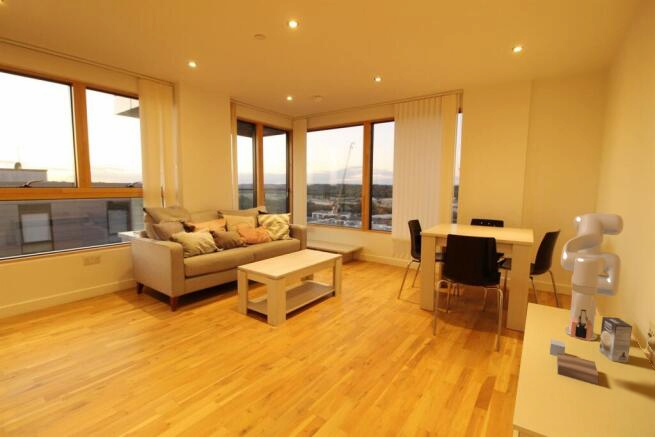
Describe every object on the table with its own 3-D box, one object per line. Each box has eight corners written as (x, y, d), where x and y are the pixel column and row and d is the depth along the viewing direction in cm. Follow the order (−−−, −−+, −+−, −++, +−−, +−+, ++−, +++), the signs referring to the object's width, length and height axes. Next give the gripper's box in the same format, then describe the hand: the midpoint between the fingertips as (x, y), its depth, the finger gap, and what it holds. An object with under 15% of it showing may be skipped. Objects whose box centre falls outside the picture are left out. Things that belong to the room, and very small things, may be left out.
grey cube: (549, 349, 143) (550, 339, 143) (563, 353, 140) (564, 342, 140) (549, 354, 139) (550, 343, 139) (563, 358, 136) (565, 347, 136)
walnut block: (556, 361, 134) (557, 352, 134) (593, 371, 127) (594, 361, 127) (557, 375, 124) (558, 365, 124) (597, 386, 118) (598, 376, 117)
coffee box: (597, 350, 143) (601, 316, 142) (614, 352, 142) (618, 317, 141) (611, 361, 134) (615, 324, 133) (629, 363, 133) (633, 326, 132)
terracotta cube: (569, 331, 128) (571, 316, 128) (588, 335, 125) (590, 320, 124) (570, 336, 124) (571, 321, 123) (590, 341, 120) (591, 325, 120)
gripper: (570, 282, 132) (566, 324, 133) (573, 292, 118) (568, 339, 119) (594, 285, 127) (589, 328, 129) (599, 297, 113) (594, 345, 115)
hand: (579, 333), depth 124 cm, fingers closed on terracotta cube, 6 cm apart
